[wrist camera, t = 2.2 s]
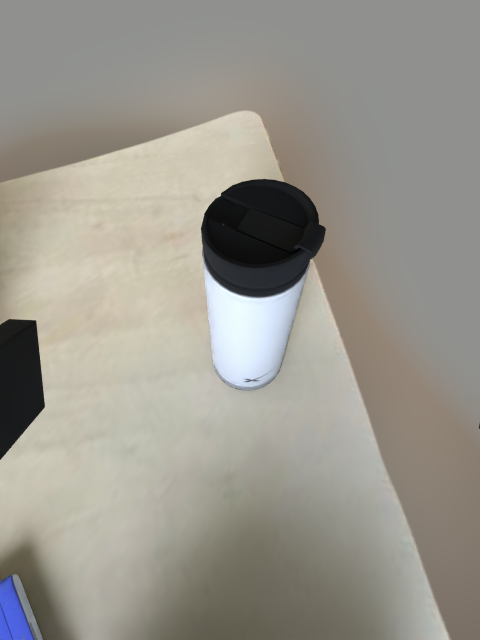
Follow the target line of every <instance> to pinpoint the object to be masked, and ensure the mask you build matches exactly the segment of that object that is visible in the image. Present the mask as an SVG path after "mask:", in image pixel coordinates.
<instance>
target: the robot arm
mask: <svg viewBox="0 0 480 640" xmlns="http://www.w3.org/2000/svg"><path fill="white" fill-rule="evenodd" d="M44 407H45V403H44V394H43V384H42V374H41V364H40V354H39V345H38V335H37V325H36V320H15V319H9V320H7V321H5V322H4V323H2V324H1V325H0V460H1V458H2V457H3V456H4V455H5V454H6V452H7V451H8V450H9V449H10V448H11V447H12V445H13V444H14V443H15V442H16V441H17V439H18V438H19V437H20V436H21V435H22V434H23V432H24V431H25V430H26V429H27V428H28V426H29V425H30V424H31V423H32V422H33V420H34V419H35V418H36V417H37V416H38V415H39V413H40V412H41V411H42V410H43V409H44ZM479 429H480V425H479Z"/></svg>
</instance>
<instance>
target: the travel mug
mask: <svg viewBox="0 0 480 640" xmlns="http://www.w3.org/2000/svg"><path fill="white" fill-rule="evenodd" d="M325 231H326V229H325V227H324V226H321V225H319V218H318V213H317V210H316V207H315V205H314V204H313V202H312V201H311V199H310V198H309V197H308V196H307V195H306V194H305V193H304V192H303V191H301V190H299V189H298V188H296V187H295V186H292V185H290V184H287V183H285V182H281V181H277V180H268V179H258V180H250V181H244V182H241V183H238V184H235V185H232V186H231V187H230V188H228V189H227V190H225V191H224V192H222V193H221V196H220V197H218V198H216V199H215V200H214V201H213V202H212V203H211V204H210V206H209V207H208V209H207V210H206V212H205V214H204V219H203V223H202V227H201V233H202V244H203V252H202V256H203V266H204V277H205V287H206V298H207V308H208V318H209V329H210V339H211V350H212V360H213V366H214V368H215V371H216V373H217V374H218V376H219V377H220V378H221V379H222V380H223V381H224V382H225V383H226V384H228V385H229V386H231V387H234V388H236V389H241V390H255V389H259V388H261V387H264V386H266V385H267V384H269V383H270V382H271V381H272V380H273V379H274V378H275V377H276V375H277V374H278V372H279V370H280V367H281V364H282V360H283V357H284V353H285V350H286V346H287V343H288V339H289V336H290V332H291V328H292V325H293V321H294V318H295V314H296V311H297V307H298V304H299V300H300V297H301V293H302V290H303V286H304V283H305V279H306V276H307V271H308V268H309V265H310V260H311V259H312V258H313V257H314V256H315V255H316V254H317V252H318V251H319V249H320V247H321V245H322V243H323V241H324V236H325Z"/></svg>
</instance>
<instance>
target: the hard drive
mask: <svg viewBox="0 0 480 640" xmlns="http://www.w3.org/2000/svg"><path fill="white" fill-rule="evenodd" d="M0 640H43V638H42V636H41V633H40V630H39V628H38V625H37V622H36V620H35V617H34V615H33V612H32V609H31V607H30V604H29V601H28V599H27V596H26V594H25V591H24V588H23V586H22V583H21V581H20V579H19V577H18V575H17V574H14V575H10V576H8V577H7V578H5V579H4V580H2V581H1V582H0Z"/></svg>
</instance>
